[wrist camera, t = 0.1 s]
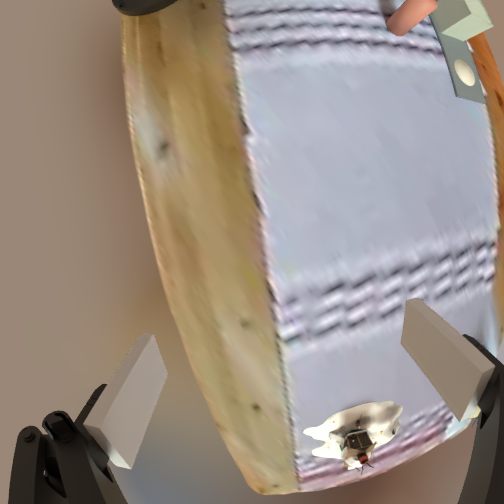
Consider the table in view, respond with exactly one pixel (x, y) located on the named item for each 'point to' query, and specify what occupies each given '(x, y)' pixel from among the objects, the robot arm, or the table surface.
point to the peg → (410, 15)
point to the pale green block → (461, 18)
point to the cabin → (357, 432)
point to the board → (460, 66)
